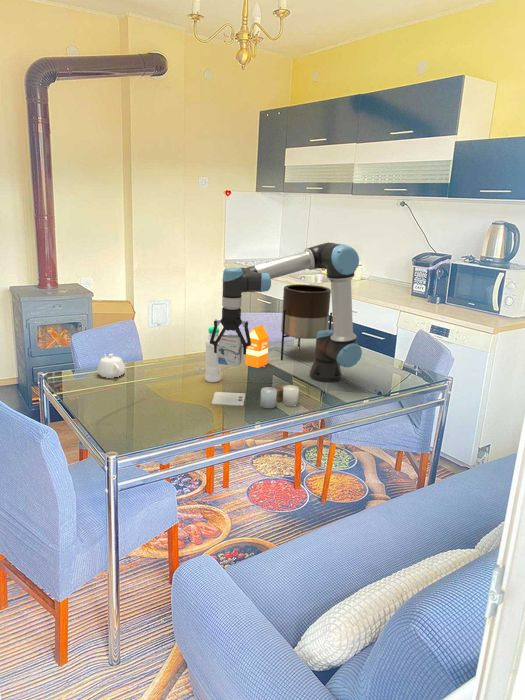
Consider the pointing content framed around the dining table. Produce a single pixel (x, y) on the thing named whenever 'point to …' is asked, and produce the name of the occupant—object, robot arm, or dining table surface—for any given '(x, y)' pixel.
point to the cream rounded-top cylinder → (290, 395)
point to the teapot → (111, 366)
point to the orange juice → (257, 348)
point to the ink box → (230, 350)
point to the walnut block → (279, 393)
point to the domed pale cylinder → (268, 397)
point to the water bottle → (212, 360)
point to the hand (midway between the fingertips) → (229, 361)
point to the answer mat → (228, 399)
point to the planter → (305, 311)
